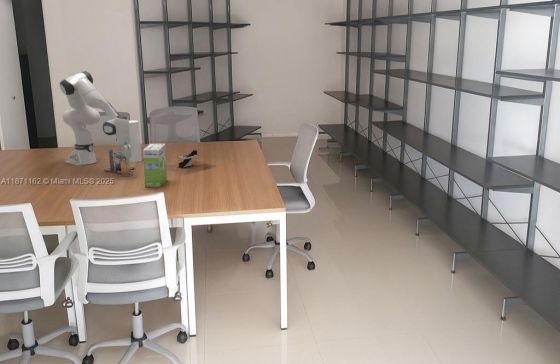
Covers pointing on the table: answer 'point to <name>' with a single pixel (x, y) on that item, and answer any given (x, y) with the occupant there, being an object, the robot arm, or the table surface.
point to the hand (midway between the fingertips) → (125, 160)
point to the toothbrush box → (155, 165)
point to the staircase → (187, 159)
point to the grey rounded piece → (125, 175)
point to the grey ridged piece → (117, 162)
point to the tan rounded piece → (125, 168)
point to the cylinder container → (135, 141)
